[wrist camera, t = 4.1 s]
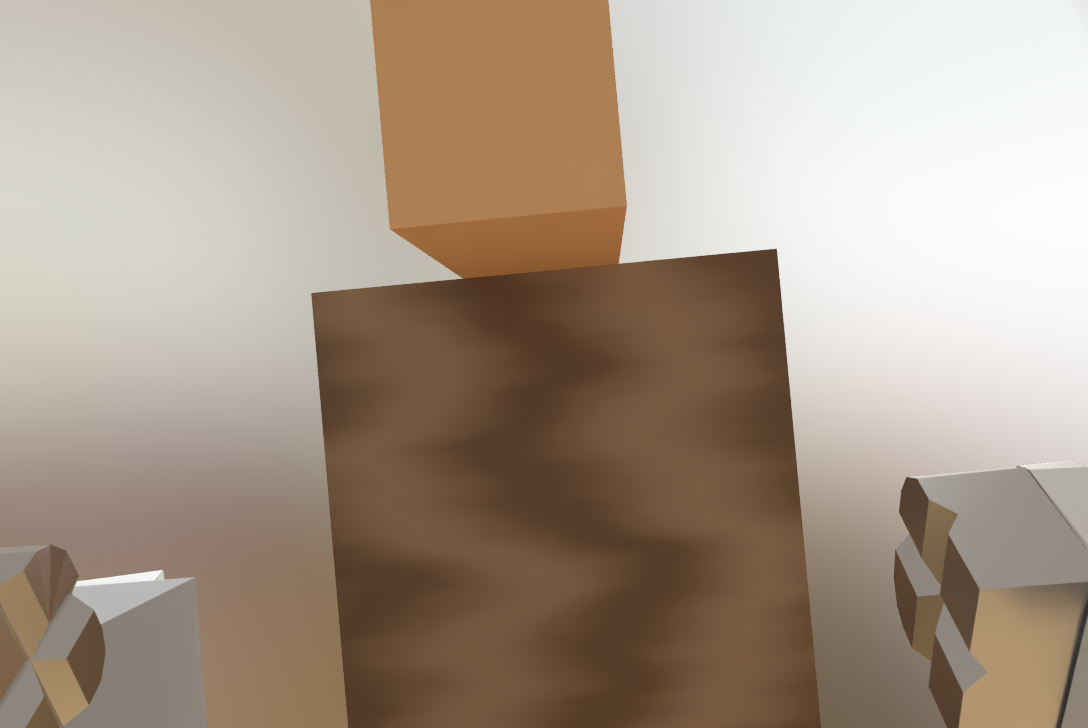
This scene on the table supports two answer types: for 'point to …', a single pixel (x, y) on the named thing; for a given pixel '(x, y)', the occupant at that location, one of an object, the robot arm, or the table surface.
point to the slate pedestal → (146, 656)
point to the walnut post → (568, 499)
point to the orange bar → (501, 132)
